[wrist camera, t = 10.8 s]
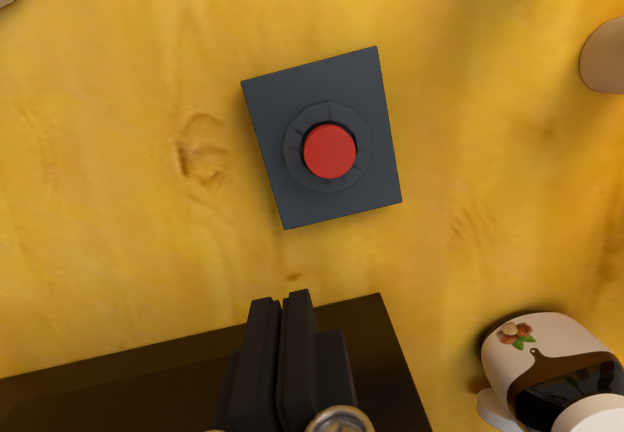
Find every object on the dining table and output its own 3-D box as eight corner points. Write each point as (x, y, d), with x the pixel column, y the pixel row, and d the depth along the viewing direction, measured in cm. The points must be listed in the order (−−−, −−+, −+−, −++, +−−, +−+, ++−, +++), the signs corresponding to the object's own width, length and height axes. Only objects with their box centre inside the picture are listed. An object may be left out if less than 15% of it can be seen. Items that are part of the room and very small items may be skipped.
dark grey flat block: (244, 80, 28) (236, 81, 25) (370, 47, 28) (382, 43, 24) (285, 220, 33) (283, 238, 29) (395, 193, 32) (408, 209, 28)
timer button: (298, 130, 26) (298, 134, 25) (346, 118, 26) (350, 121, 24) (310, 177, 28) (310, 184, 26) (356, 166, 27) (360, 172, 26)
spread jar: (561, 292, 36) (673, 384, 26) (577, 372, 40) (680, 482, 29) (445, 333, 38) (505, 438, 27) (472, 407, 42) (533, 525, 31)
